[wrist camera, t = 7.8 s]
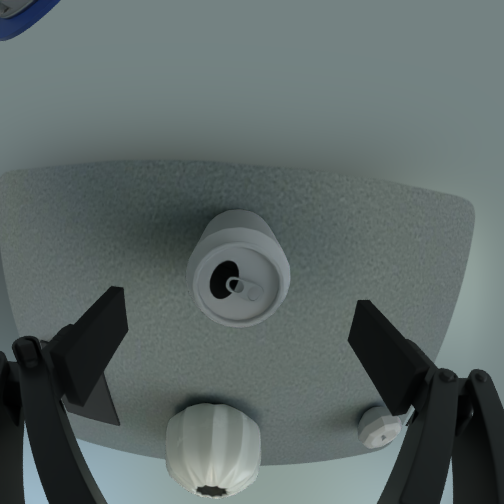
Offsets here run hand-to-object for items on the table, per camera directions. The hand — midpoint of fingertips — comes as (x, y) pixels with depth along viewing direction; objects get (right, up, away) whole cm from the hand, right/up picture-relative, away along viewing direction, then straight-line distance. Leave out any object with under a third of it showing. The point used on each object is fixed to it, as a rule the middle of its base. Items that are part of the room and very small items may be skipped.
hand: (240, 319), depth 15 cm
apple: (+21, -24, +25) cm, 41 cm away
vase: (-5, -22, +23) cm, 32 cm away
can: (-1, +5, +15) cm, 16 cm away
